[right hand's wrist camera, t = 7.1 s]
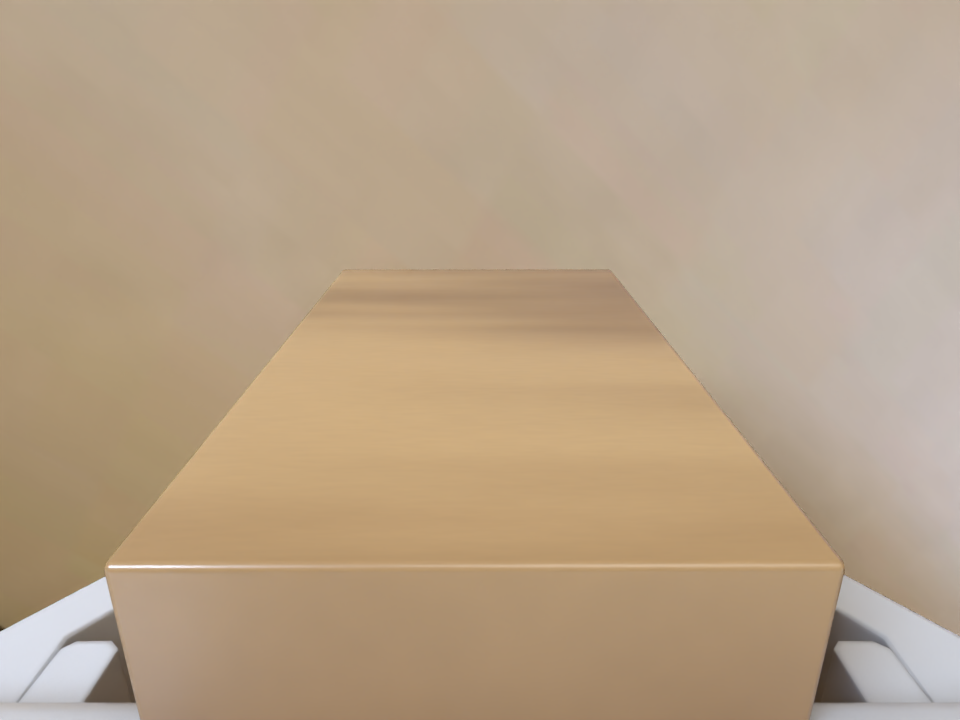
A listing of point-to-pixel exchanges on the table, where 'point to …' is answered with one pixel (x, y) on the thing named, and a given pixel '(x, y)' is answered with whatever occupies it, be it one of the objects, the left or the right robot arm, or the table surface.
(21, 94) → the table surface
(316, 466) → the bar
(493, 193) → the table surface
